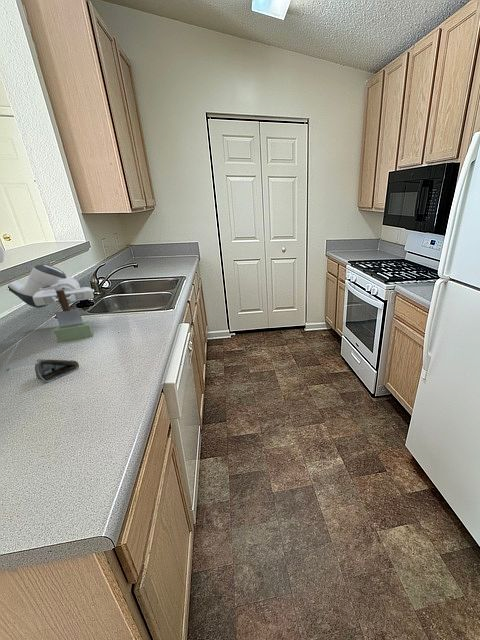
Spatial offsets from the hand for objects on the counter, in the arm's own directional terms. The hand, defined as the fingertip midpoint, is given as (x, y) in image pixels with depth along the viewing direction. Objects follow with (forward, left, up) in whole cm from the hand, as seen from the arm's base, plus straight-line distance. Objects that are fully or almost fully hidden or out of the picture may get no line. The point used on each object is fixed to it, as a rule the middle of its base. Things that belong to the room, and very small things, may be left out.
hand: (62, 301), depth 128 cm
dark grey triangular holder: (+19, -22, -17) cm, 34 cm away
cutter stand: (-1, +1, -17) cm, 17 cm away
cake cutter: (-1, +1, -11) cm, 11 cm away
